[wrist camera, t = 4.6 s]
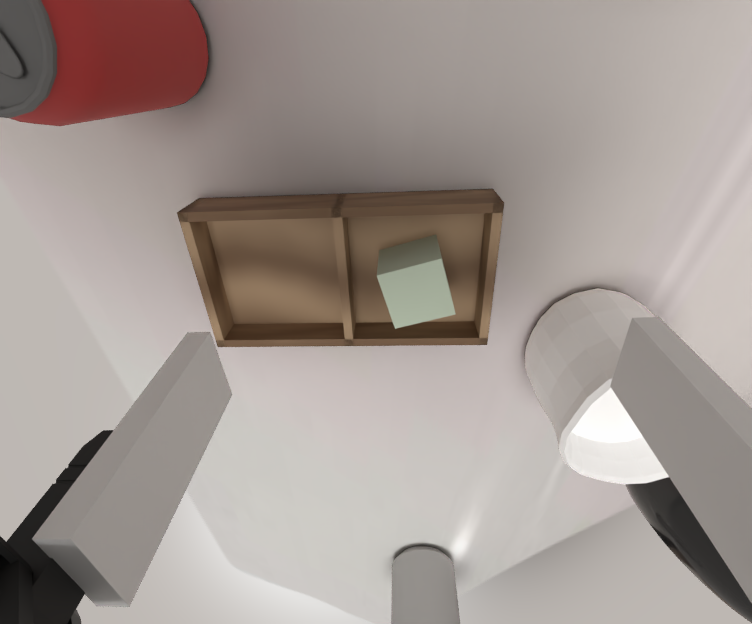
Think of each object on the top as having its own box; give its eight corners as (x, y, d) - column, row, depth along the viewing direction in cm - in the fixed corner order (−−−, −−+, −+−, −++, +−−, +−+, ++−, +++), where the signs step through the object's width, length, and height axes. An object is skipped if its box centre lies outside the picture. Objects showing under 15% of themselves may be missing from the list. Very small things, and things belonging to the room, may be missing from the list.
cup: (528, 397, 35) (569, 498, 27) (508, 303, 31) (549, 391, 22) (646, 371, 33) (728, 472, 25) (643, 267, 29) (744, 349, 20)
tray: (199, 198, 28) (177, 212, 25) (493, 188, 26) (504, 202, 24) (232, 323, 33) (217, 346, 30) (479, 320, 32) (486, 344, 29)
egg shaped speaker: (733, 455, 38) (908, 657, 25) (617, 483, 41) (719, 677, 28) (726, 379, 33) (935, 578, 20) (596, 416, 36) (707, 611, 23)
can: (416, 534, 47) (421, 664, 37) (465, 556, 49) (483, 685, 39) (380, 561, 51) (376, 687, 40) (428, 580, 52) (435, 705, 42)
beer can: (170, 130, 25) (14, 172, 15) (73, 34, 23) (-189, 6, 13) (236, 50, 23) (105, 35, 13) (136, -68, 21) (-125, -203, 10)
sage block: (379, 250, 28) (376, 275, 24) (436, 234, 27) (441, 258, 24) (395, 298, 30) (394, 328, 26) (448, 285, 29) (455, 314, 26)
